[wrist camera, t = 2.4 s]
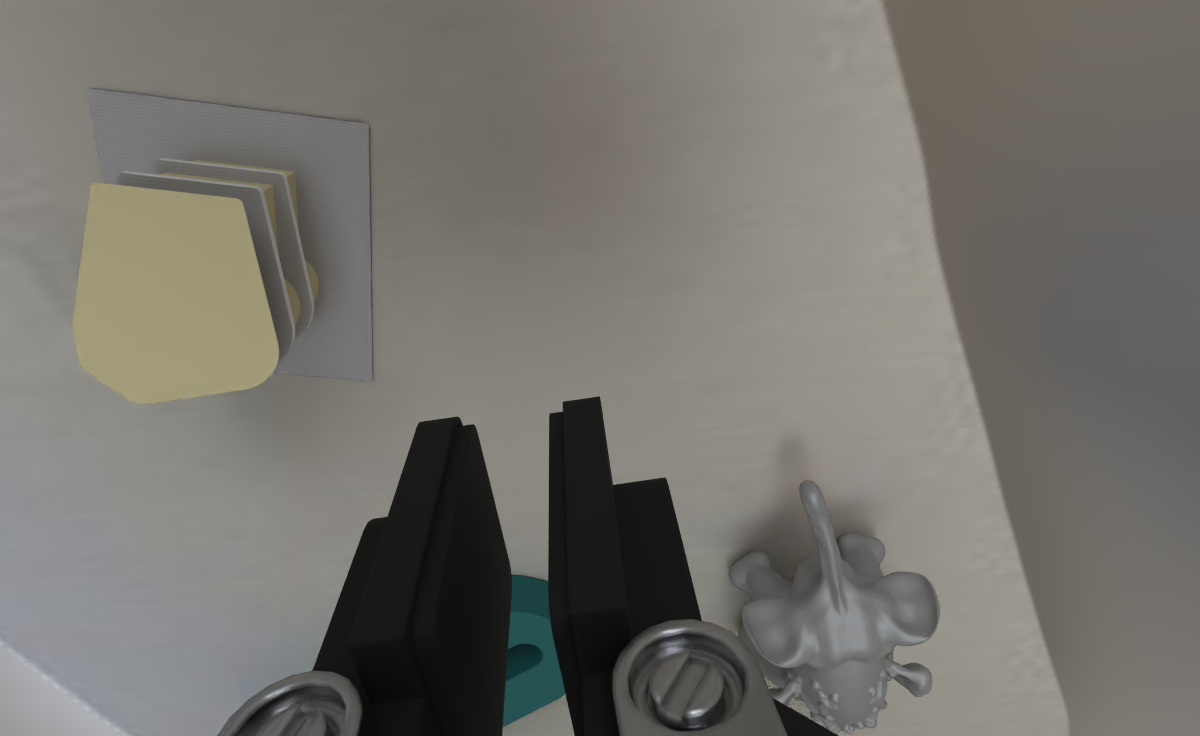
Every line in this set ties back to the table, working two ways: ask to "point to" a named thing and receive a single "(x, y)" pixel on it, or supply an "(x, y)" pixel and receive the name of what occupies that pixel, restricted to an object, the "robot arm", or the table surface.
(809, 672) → the gray elephant figurine
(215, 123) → the stacked layers on plate
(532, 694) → the bracket
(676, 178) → the table surface
